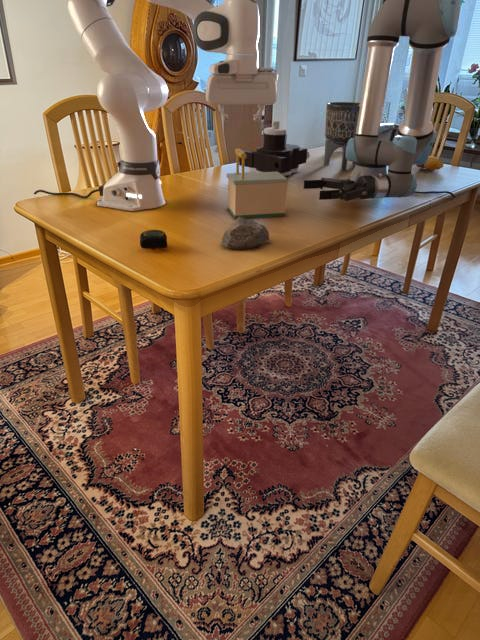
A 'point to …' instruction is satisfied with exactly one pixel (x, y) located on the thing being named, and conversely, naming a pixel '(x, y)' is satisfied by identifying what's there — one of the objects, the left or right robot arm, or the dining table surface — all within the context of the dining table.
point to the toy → (431, 164)
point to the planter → (340, 128)
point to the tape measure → (153, 239)
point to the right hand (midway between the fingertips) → (311, 189)
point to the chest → (257, 200)
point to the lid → (253, 174)
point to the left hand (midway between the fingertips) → (241, 121)
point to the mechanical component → (276, 153)
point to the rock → (245, 234)
